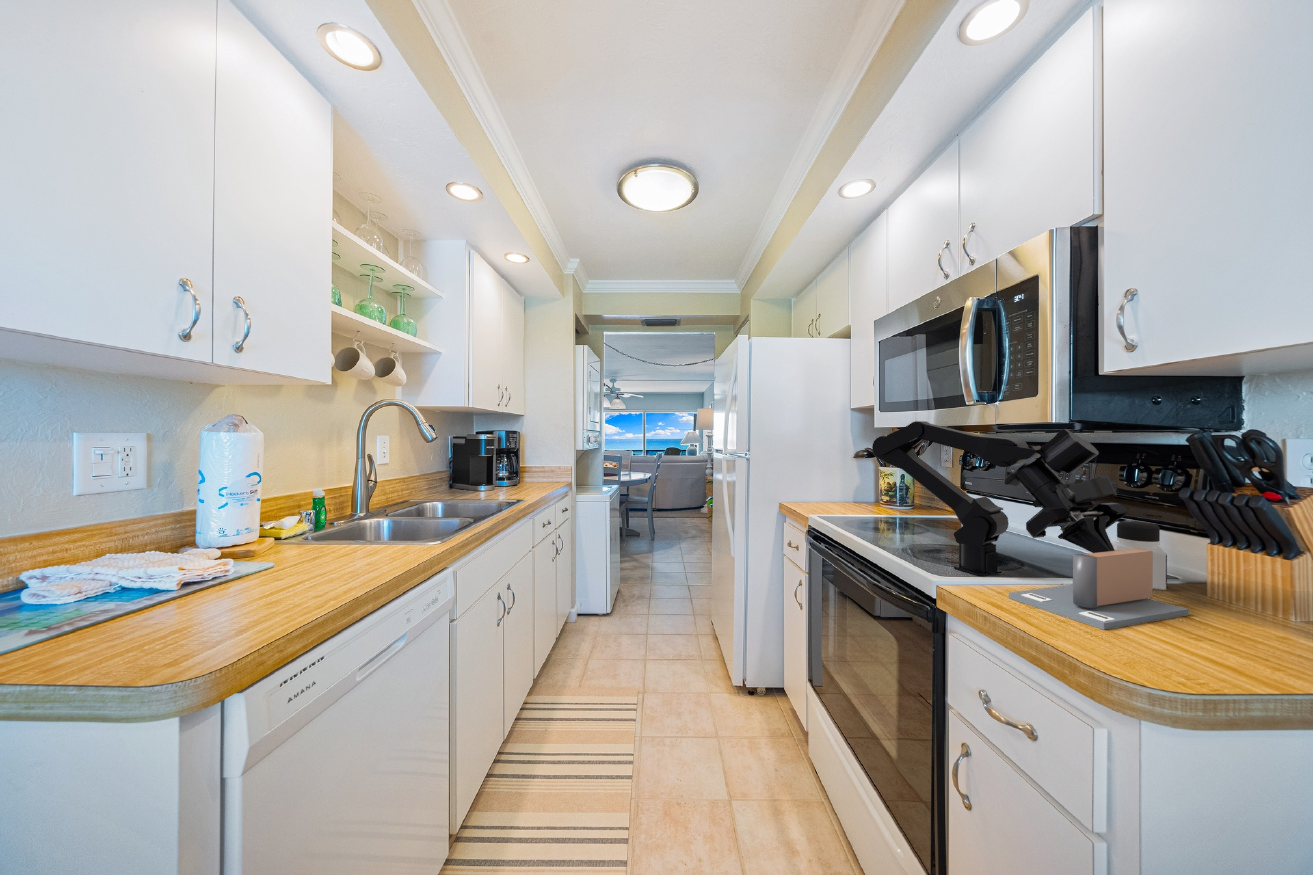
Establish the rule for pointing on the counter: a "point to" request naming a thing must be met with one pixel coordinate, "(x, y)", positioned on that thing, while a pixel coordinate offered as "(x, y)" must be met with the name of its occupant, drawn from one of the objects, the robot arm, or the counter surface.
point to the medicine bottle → (1144, 546)
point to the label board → (1098, 608)
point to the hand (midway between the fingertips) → (1114, 560)
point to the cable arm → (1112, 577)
